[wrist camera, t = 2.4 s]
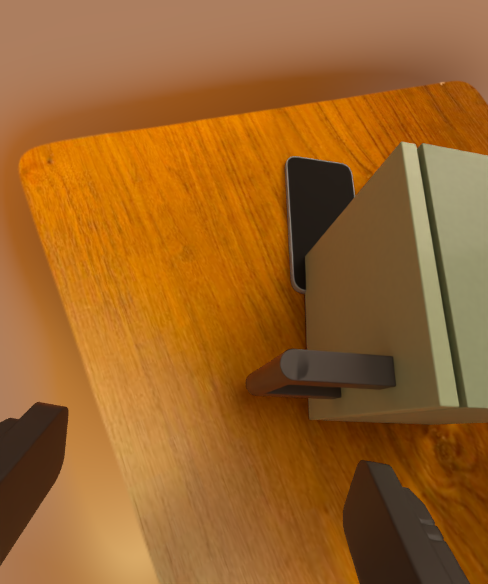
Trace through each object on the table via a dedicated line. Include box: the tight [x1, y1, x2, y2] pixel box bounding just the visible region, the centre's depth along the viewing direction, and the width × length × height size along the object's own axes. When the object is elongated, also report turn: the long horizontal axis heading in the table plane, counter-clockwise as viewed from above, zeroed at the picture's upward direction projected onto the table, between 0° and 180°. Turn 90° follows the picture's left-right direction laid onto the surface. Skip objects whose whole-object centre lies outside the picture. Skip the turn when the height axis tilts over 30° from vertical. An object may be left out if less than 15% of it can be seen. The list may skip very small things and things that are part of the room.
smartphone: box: [285, 156, 355, 294], centre depth 38 cm, size 7×1×15 cm
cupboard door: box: [246, 142, 459, 420], centre depth 26 cm, size 7×14×16 cm, turn 179°
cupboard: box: [326, 143, 488, 425], centre depth 28 cm, size 10×14×16 cm
